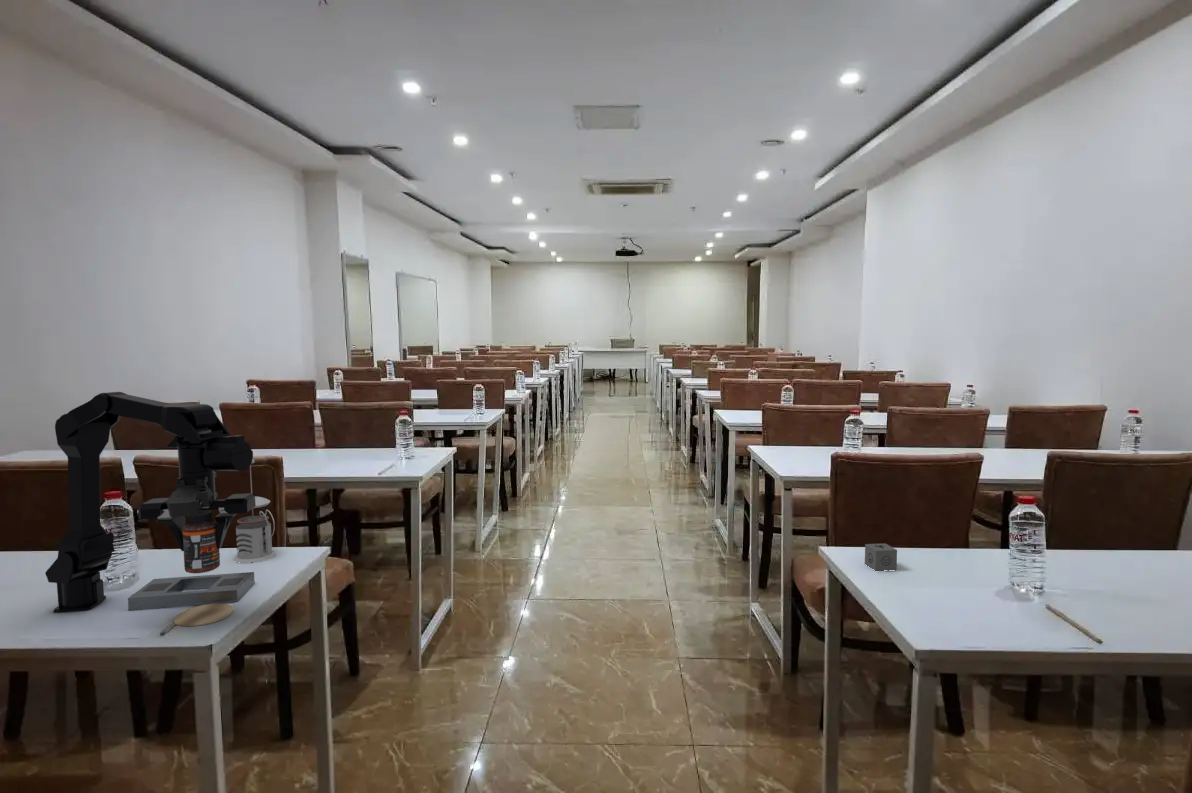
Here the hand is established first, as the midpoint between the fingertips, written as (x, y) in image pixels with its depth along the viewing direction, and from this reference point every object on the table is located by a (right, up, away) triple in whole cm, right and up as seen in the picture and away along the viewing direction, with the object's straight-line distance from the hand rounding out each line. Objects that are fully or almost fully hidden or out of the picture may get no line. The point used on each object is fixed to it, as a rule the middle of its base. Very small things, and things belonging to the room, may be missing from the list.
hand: (201, 549), depth 125 cm
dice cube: (+143, -10, +25) cm, 146 cm away
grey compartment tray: (-8, -12, +11) cm, 18 cm away
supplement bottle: (0, -4, 0) cm, 4 cm away
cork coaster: (0, -13, +1) cm, 13 cm away
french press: (-8, -11, +36) cm, 38 cm away
